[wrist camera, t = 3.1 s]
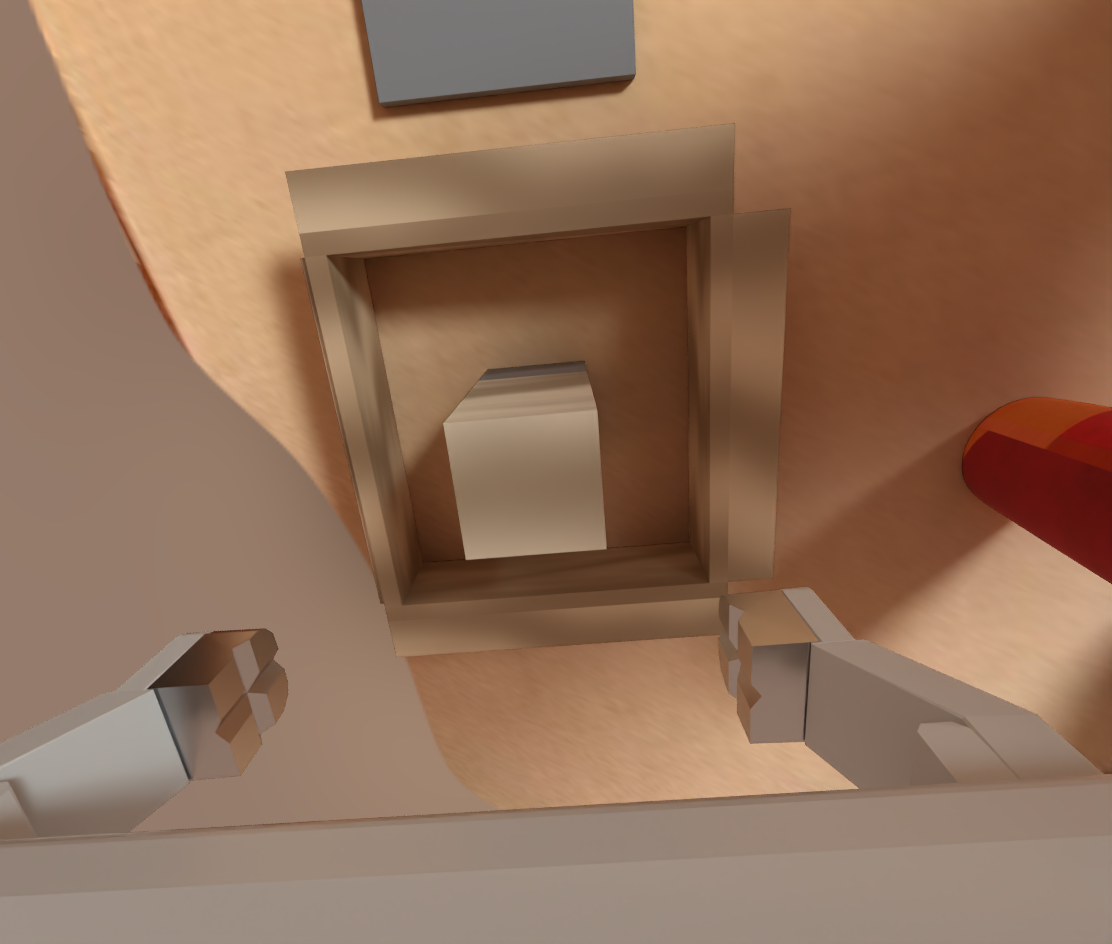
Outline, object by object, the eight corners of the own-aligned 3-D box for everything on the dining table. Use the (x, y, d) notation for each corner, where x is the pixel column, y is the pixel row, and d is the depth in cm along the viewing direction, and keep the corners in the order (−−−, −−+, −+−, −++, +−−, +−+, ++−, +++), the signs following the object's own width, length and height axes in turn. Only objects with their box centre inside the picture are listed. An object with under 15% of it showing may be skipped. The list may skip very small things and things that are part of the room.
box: (487, 369, 25) (443, 423, 16) (584, 360, 25) (597, 410, 16) (499, 461, 27) (466, 559, 17) (591, 453, 27) (606, 549, 17)
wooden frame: (324, 190, 23) (276, 172, 19) (755, 144, 22) (794, 116, 18) (412, 609, 30) (390, 657, 26) (743, 585, 29) (770, 631, 25)
